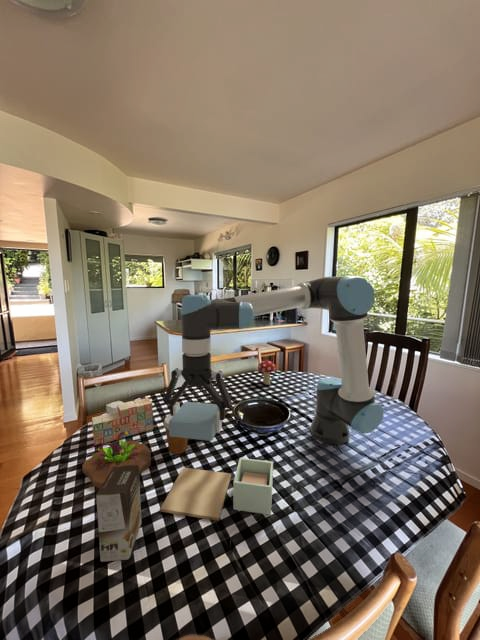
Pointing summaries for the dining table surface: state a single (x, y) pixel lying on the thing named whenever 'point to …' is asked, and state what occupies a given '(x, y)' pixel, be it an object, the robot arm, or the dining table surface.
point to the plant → (116, 459)
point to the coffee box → (119, 513)
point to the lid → (194, 421)
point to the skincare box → (113, 407)
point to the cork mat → (198, 494)
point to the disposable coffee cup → (174, 440)
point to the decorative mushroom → (266, 370)
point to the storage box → (253, 486)
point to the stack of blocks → (123, 421)
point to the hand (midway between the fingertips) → (197, 428)
